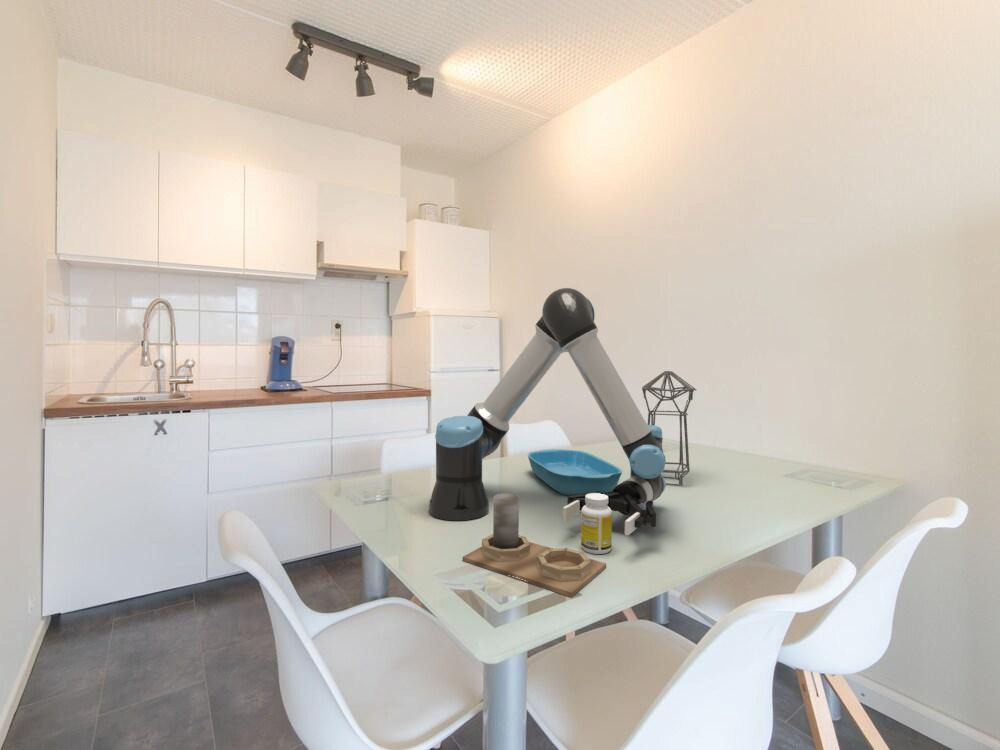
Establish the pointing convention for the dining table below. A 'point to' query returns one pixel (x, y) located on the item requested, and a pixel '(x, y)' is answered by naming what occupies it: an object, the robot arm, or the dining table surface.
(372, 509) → the dining table surface
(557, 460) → the casserole dish
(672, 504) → the dining table surface
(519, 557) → the socket board
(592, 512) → the pill bottle
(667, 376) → the geometric lantern
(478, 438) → the robot arm
